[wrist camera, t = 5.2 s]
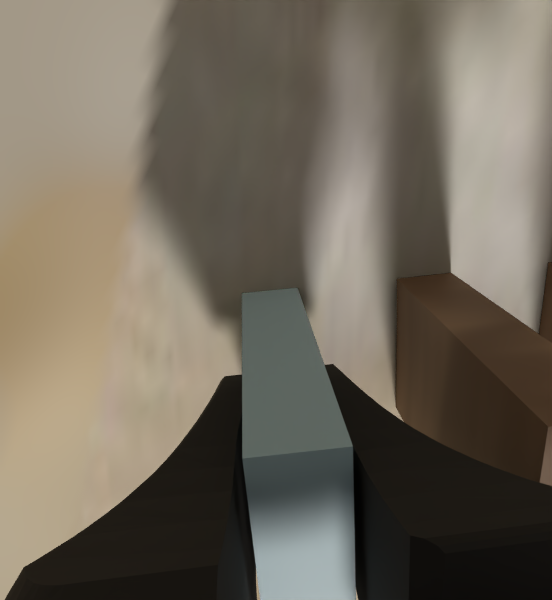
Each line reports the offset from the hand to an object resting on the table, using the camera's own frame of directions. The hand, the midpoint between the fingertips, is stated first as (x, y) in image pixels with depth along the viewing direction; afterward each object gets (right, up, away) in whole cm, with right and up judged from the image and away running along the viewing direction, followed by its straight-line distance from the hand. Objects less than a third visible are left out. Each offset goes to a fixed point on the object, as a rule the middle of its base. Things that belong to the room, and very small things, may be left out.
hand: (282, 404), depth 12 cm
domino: (+4, +1, +2) cm, 5 cm away
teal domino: (0, +1, +2) cm, 2 cm away
